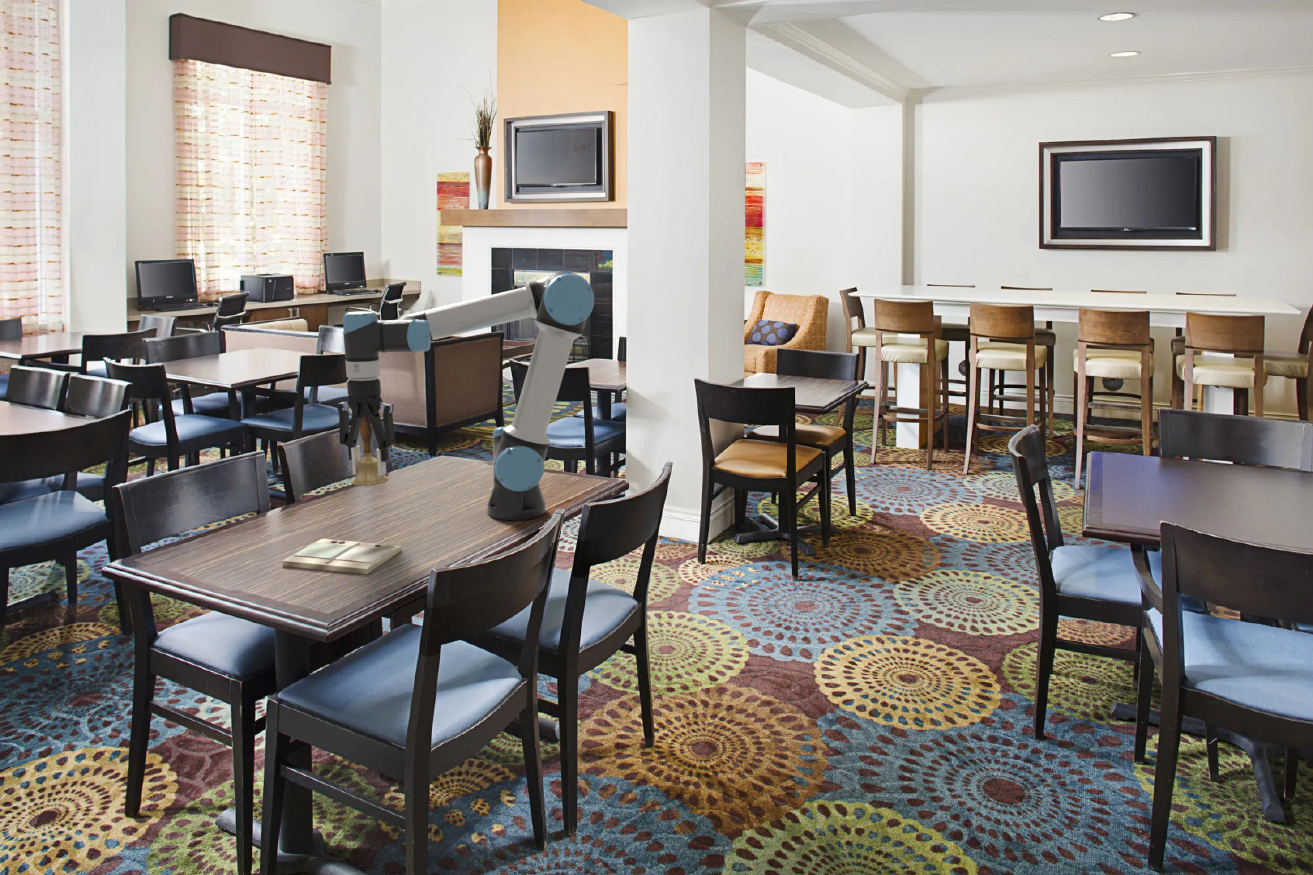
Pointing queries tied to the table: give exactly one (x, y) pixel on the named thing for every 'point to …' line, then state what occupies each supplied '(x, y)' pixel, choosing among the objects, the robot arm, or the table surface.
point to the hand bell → (367, 460)
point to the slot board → (342, 556)
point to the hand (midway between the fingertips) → (369, 473)
